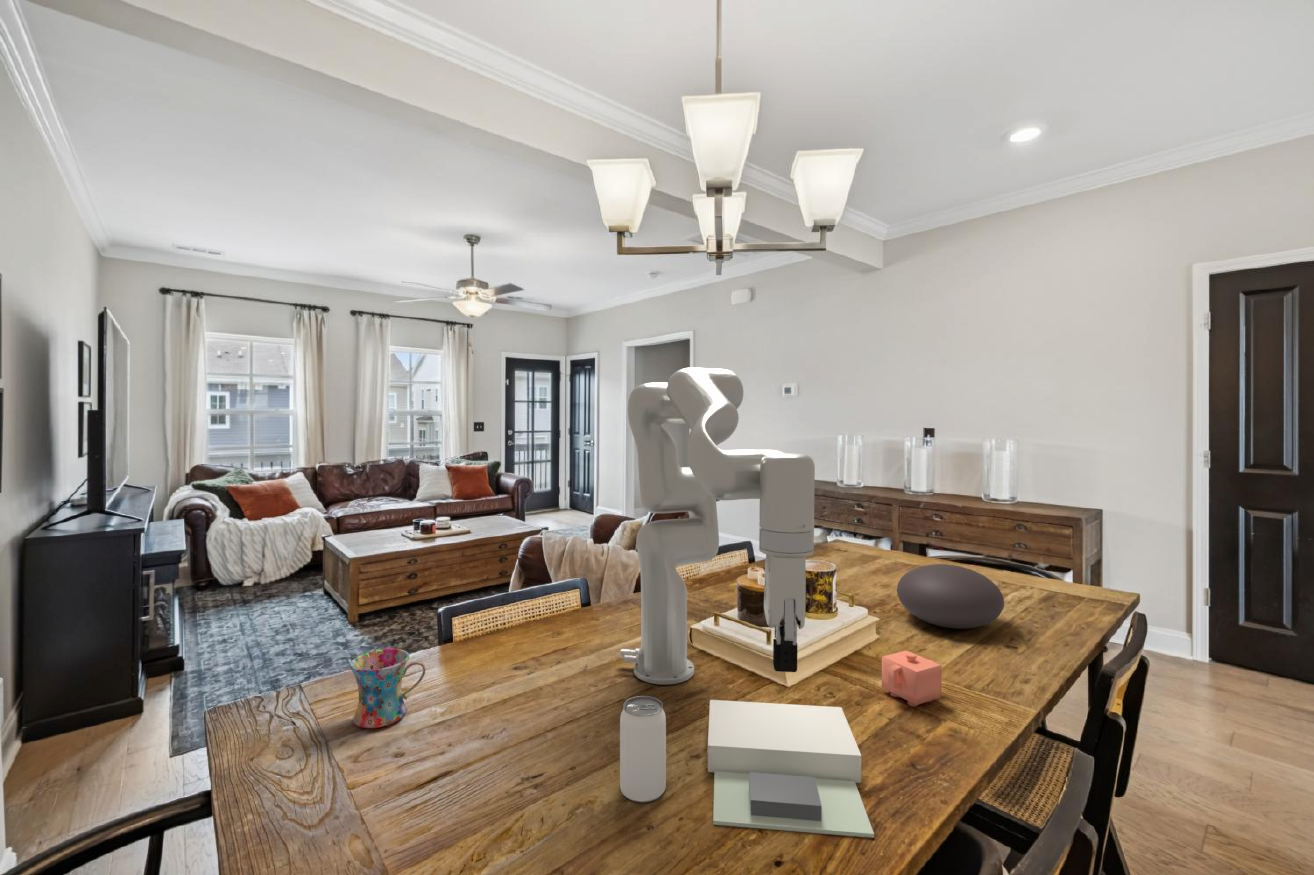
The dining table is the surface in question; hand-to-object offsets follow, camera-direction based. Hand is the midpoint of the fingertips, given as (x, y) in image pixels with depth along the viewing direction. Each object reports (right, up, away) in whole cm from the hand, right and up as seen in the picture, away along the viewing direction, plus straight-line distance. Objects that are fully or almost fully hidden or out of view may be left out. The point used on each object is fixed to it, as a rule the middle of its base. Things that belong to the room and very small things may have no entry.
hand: (785, 669), depth 81 cm
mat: (0, -17, -3) cm, 17 cm away
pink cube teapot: (+30, -17, +27) cm, 44 cm away
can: (-20, -17, 0) cm, 26 cm away
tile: (-1, -14, -4) cm, 15 cm away
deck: (+1, -17, +9) cm, 19 cm away
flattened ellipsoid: (+57, -16, +66) cm, 89 cm away
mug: (-65, -17, +19) cm, 70 cm away
